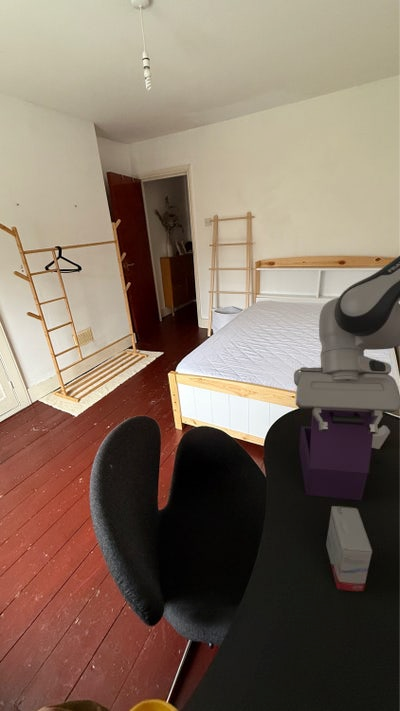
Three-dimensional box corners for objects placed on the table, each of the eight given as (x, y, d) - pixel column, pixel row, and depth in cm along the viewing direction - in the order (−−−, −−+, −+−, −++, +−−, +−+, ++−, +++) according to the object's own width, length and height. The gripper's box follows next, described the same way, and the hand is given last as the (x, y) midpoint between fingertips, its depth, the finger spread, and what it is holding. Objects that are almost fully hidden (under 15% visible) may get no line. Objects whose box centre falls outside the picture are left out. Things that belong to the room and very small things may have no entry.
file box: (299, 449, 87) (301, 426, 83) (345, 453, 85) (349, 428, 81) (306, 495, 73) (309, 468, 70) (361, 500, 71) (367, 473, 67)
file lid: (312, 401, 66) (316, 410, 61) (375, 404, 63) (383, 413, 59) (309, 466, 70) (312, 479, 65) (367, 471, 67) (375, 485, 63)
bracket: (377, 451, 85) (390, 431, 82) (353, 445, 86) (364, 425, 82) (362, 423, 97) (373, 404, 93) (341, 417, 97) (350, 399, 94)
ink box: (364, 593, 54) (375, 554, 49) (334, 589, 55) (343, 550, 50) (349, 545, 62) (358, 507, 57) (324, 543, 63) (330, 504, 58)
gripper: (295, 362, 65) (297, 427, 60) (399, 364, 61) (409, 434, 56) (292, 371, 71) (293, 430, 66) (387, 373, 67) (395, 436, 62)
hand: (347, 432), depth 61 cm, fingers open, 8 cm apart
